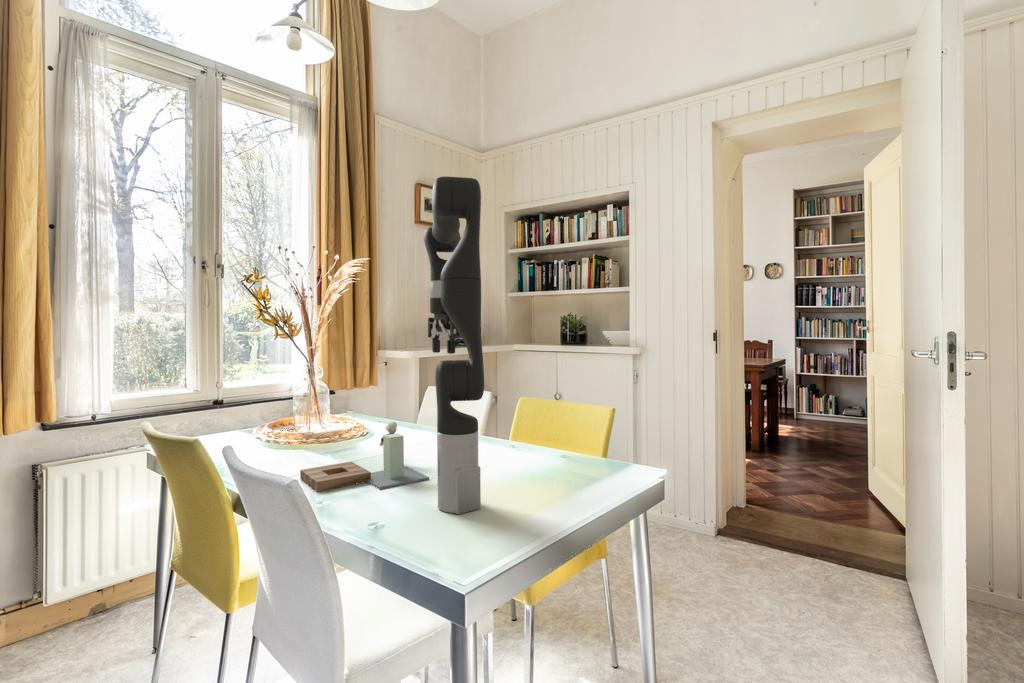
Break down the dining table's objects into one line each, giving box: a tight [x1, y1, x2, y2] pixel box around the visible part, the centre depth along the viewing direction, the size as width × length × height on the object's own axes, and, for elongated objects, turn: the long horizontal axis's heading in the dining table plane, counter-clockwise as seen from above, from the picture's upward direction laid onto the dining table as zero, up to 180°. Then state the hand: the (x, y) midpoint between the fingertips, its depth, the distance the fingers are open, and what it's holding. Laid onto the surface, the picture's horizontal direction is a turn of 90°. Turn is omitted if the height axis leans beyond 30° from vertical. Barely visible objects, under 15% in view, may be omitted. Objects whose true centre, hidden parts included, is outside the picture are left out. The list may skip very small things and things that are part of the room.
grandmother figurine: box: [379, 421, 398, 447], centre depth 158 cm, size 8×4×13 cm, turn 84°
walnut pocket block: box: [299, 461, 372, 493], centre depth 141 cm, size 14×14×2 cm
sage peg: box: [383, 432, 405, 479], centre depth 143 cm, size 4×4×11 cm
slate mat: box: [366, 465, 430, 490], centre depth 143 cm, size 14×14×1 cm
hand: (443, 353), depth 154 cm, fingers open, 8 cm apart
